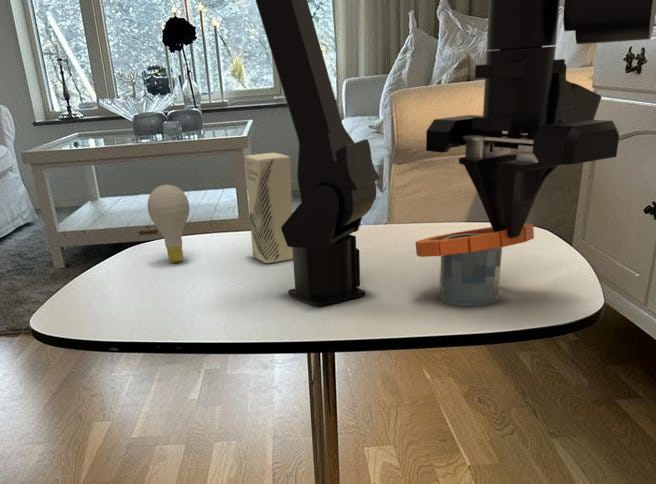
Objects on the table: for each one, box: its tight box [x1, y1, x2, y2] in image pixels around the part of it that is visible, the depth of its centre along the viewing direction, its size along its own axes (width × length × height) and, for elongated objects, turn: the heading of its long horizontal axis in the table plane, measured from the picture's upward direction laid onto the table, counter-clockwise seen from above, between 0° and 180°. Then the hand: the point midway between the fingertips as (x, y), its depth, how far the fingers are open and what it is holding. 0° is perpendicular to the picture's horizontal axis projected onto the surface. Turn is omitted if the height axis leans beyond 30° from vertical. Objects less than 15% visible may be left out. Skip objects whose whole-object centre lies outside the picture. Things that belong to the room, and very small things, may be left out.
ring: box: [414, 222, 535, 258], centre depth 76 cm, size 11×11×1 cm
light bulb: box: [146, 184, 190, 264], centre depth 100 cm, size 6×5×10 cm
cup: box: [439, 234, 503, 307], centre depth 78 cm, size 6×6×6 cm
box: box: [244, 152, 293, 264], centre depth 97 cm, size 5×4×13 cm
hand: (506, 235), depth 72 cm, fingers closed on ring, 1 cm apart
